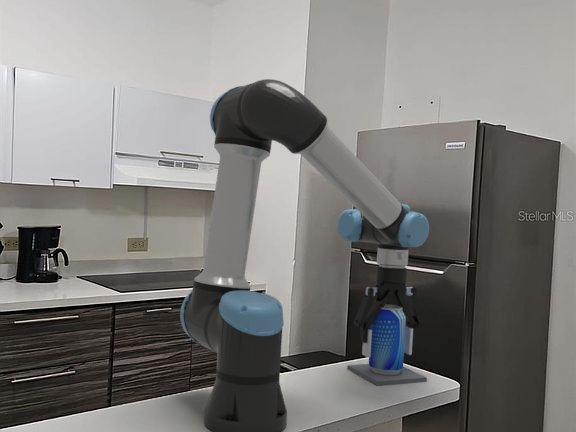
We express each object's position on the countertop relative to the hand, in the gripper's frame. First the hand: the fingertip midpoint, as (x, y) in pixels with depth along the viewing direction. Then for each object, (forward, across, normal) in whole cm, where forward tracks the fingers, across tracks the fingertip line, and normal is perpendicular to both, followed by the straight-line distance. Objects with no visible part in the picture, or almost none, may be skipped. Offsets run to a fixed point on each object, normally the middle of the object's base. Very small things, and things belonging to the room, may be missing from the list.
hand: (387, 354), depth 145 cm
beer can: (+4, 0, 0) cm, 4 cm away
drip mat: (+5, 0, 0) cm, 5 cm away
